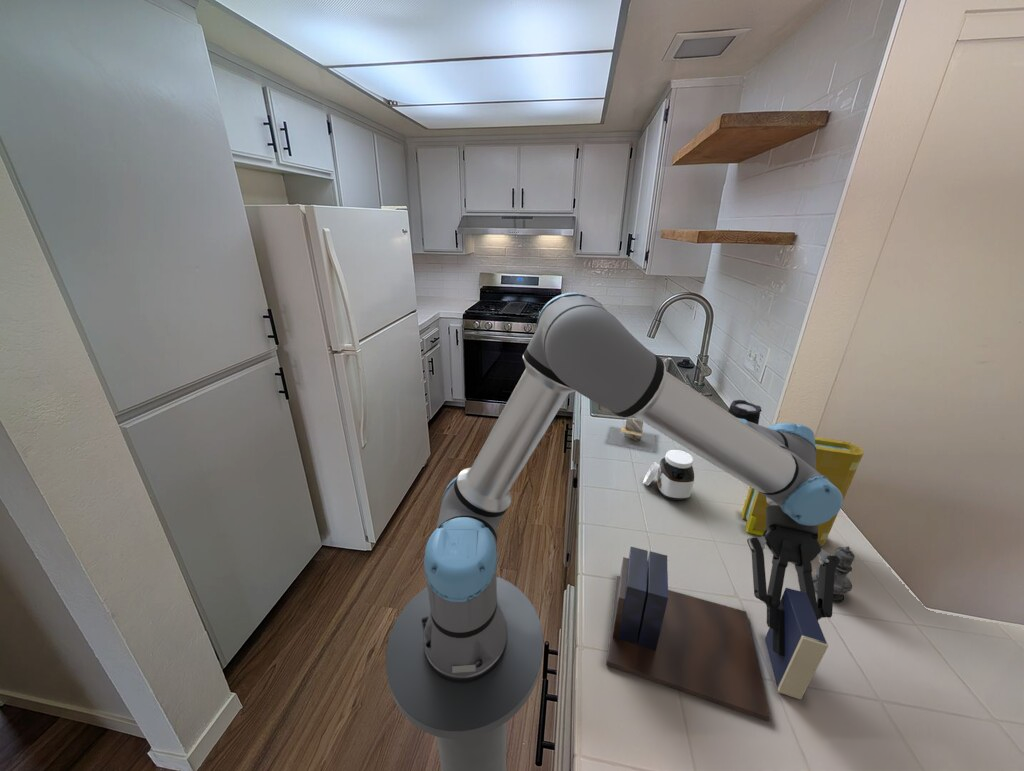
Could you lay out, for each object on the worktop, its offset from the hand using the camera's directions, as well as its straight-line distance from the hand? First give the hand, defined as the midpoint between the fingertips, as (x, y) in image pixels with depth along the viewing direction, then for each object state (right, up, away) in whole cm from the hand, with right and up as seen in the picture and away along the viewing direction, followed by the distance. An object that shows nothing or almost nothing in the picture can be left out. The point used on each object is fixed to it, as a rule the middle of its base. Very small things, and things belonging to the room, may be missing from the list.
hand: (791, 657), depth 61 cm
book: (+21, +8, +32) cm, 39 cm away
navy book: (0, -4, +3) cm, 5 cm away
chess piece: (+19, +2, +17) cm, 26 cm away
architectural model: (-3, +25, +71) cm, 75 cm away
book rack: (-15, -2, +7) cm, 17 cm away
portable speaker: (+24, +20, +59) cm, 67 cm away
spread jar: (-2, +14, +46) cm, 48 cm away
